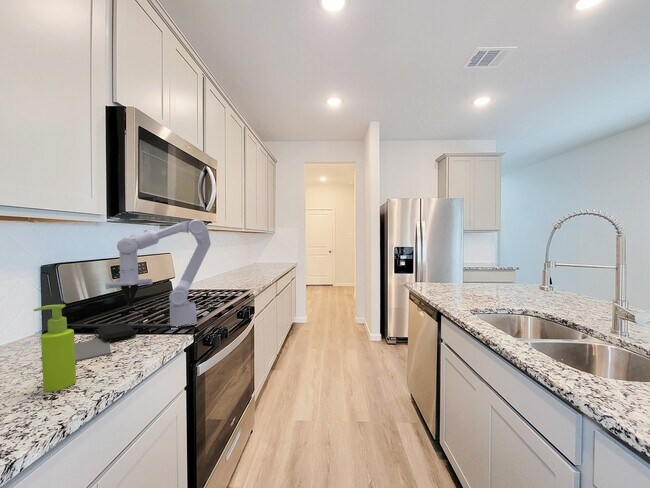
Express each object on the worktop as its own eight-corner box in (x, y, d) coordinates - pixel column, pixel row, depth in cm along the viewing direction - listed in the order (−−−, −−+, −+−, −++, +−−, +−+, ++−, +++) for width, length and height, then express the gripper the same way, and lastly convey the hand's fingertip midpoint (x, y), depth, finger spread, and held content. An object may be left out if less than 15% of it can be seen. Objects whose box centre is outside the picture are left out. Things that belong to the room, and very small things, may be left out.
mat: (108, 337, 102) (108, 336, 102) (110, 353, 88) (110, 352, 88) (55, 348, 93) (55, 347, 93) (48, 367, 79) (48, 366, 79)
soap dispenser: (45, 383, 71) (41, 304, 70) (80, 377, 73) (76, 301, 73) (32, 395, 65) (27, 310, 65) (70, 388, 68) (66, 306, 67)
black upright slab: (100, 335, 94) (91, 326, 104) (100, 344, 94) (91, 334, 104) (137, 329, 102) (126, 321, 112) (137, 337, 102) (125, 329, 112)
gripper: (105, 272, 99) (106, 310, 100) (152, 268, 108) (154, 303, 109) (104, 270, 105) (106, 306, 105) (150, 267, 114) (151, 300, 114)
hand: (130, 305), depth 107 cm, fingers closed
